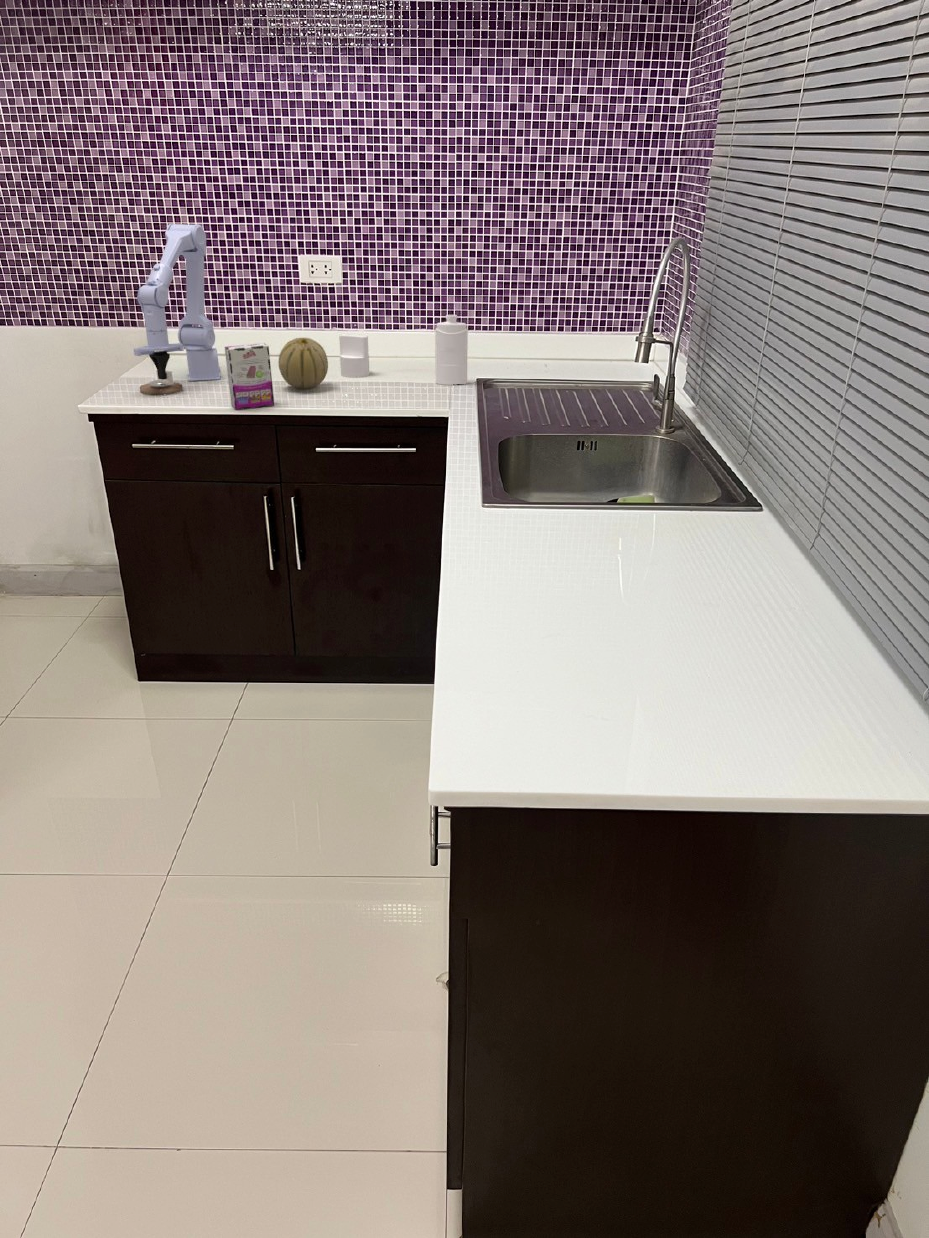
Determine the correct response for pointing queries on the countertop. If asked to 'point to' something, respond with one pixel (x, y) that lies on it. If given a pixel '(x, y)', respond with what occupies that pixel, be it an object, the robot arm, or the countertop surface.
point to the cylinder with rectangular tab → (354, 356)
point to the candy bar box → (249, 376)
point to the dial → (163, 381)
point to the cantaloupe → (303, 363)
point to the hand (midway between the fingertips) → (162, 379)
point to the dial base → (161, 389)
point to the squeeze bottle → (451, 352)
